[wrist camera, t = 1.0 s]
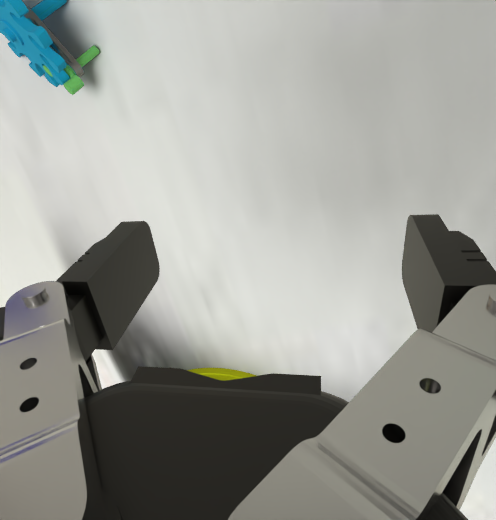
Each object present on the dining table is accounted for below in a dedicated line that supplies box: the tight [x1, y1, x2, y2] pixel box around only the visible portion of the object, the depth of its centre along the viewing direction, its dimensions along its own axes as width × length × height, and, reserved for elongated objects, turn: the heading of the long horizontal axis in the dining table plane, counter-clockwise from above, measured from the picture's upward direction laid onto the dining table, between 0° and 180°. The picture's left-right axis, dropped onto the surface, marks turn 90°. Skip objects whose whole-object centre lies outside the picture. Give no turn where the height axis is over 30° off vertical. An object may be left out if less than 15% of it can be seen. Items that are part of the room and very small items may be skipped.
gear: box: [0, 0, 99, 95], centre depth 32 cm, size 11×6×10 cm
